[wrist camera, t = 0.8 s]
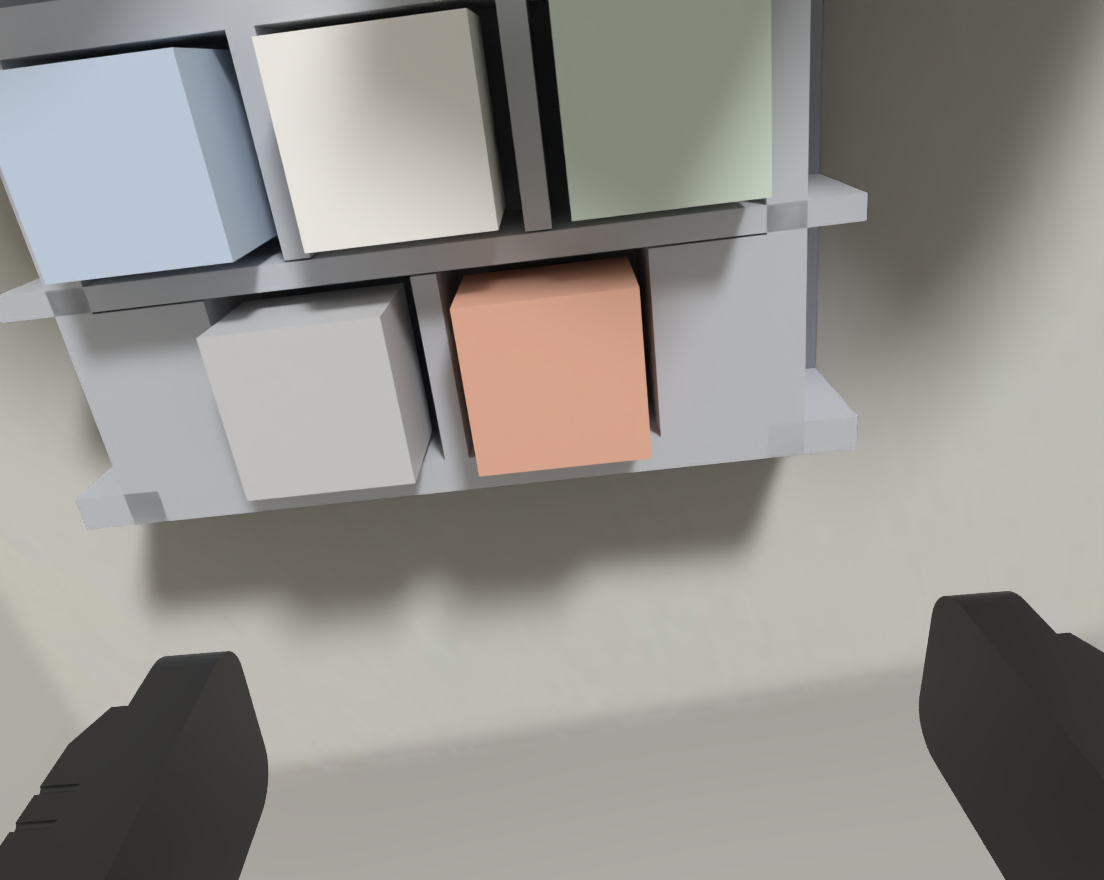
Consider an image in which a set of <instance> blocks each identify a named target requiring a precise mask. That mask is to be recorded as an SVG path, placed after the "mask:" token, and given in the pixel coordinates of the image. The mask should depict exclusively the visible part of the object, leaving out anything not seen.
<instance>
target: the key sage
mask: <svg viewBox="0 0 1104 880" xmlns="http://www.w3.org/2000/svg"><path fill="white" fill-rule="evenodd" d="M548 1H549V14H550V24H551V33H552V43H553V52H554V62H555V71H556V81H557V90H558V100H559V109H560V119H561V128H562V137H563V147H564V156H565V166H566V175H567V185H568V194H569V203H570V210H571V218H572V221H579V220H587V219H596V218H604V217H612V216H621V215H629V214H637V213H646V212H654V211H662V210H670V209H679V208H687V207H695V206H704V205H712V204H720V203H729V202H737V201H745V200H753V199H762V198H770V197H772V65H771V0H548Z"/></svg>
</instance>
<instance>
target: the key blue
mask: <svg viewBox="0 0 1104 880" xmlns="http://www.w3.org/2000/svg"><path fill="white" fill-rule="evenodd" d="M0 167H1V170H2V172H3V175H4V178H5V180H6V183H7V185H8V188H9V191H10V193H11V196H12V198H13V201H14V204H15V206H16V209H17V211H18V214H19V216H20V219H21V222H22V224H23V227H24V229H25V232H26V235H27V237H28V240H29V242H30V245H31V248H32V250H33V253H34V255H35V258H36V261H37V263H38V266H39V268H40V271H41V273H42V276H43V279H44V281H45V284H46V285H48V284H56V283H65V282H73V281H81V280H89V279H98V278H106V277H114V276H123V275H131V274H139V273H148V272H156V271H164V270H172V269H181V268H189V267H197V266H206V265H214V264H222V263H231V262H234V261H236V260H238V259H239V258H241V257H242V256H244V255H246V254H247V253H249V252H250V251H252V250H254V249H255V248H257V247H258V246H260V245H262V244H263V243H265V242H267V241H268V240H270V239H271V238H273V237H275V236H276V235H278V234H277V230H276V226H275V222H274V218H273V214H272V211H271V207H270V203H269V199H268V195H267V191H266V187H265V183H264V179H263V176H262V172H261V168H260V164H259V160H258V156H257V152H256V148H255V144H254V141H253V137H252V133H251V129H250V125H249V121H248V117H247V113H246V109H245V106H244V102H243V98H242V94H241V90H240V86H239V82H238V78H237V74H236V71H235V67H234V63H233V59H232V55H231V51H230V50H220V49H198V48H176V47H171V48H163V49H156V50H149V51H141V52H134V53H126V54H119V55H111V56H104V57H96V58H89V59H81V60H74V61H67V62H59V63H52V64H44V65H37V66H29V67H22V68H14V69H7V70H0Z"/></svg>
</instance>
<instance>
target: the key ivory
mask: <svg viewBox="0 0 1104 880" xmlns="http://www.w3.org/2000/svg"><path fill="white" fill-rule="evenodd" d="M252 41H253V45H254V49H255V53H256V57H257V61H258V65H259V70H260V74H261V78H262V82H263V86H264V90H265V94H266V98H267V102H268V106H269V110H270V114H271V118H272V122H273V127H274V131H275V135H276V139H277V143H278V147H279V151H280V155H281V159H282V163H283V167H284V171H285V175H286V179H287V183H288V188H289V192H290V196H291V200H292V204H293V208H294V212H295V216H296V220H297V224H298V228H299V232H300V236H301V240H302V245H303V249H304V253H314V252H322V251H330V250H338V249H347V248H355V247H363V246H372V245H380V244H388V243H397V242H405V241H413V240H421V239H430V238H438V237H446V236H455V235H463V234H471V233H480V232H488V231H496V230H498V229H499V226H500V223H501V220H502V217H503V214H504V211H505V207H506V205H505V197H504V190H503V183H502V176H501V168H500V161H499V154H498V147H497V140H496V132H495V125H494V118H493V111H492V103H491V96H490V89H489V82H488V74H487V67H486V60H485V53H484V45H483V38H482V31H481V24H480V17H479V16H478V15H476V14H475V13H473V12H472V11H470V10H469V9H467V8H462V9H454V10H447V11H439V12H432V13H424V14H417V15H409V16H402V17H395V18H387V19H380V20H372V21H365V22H357V23H350V24H342V25H335V26H327V27H320V28H313V29H305V30H298V31H290V32H283V33H275V34H268V35H260V36H253V37H252Z"/></svg>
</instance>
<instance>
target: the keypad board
mask: <svg viewBox="0 0 1104 880" xmlns="http://www.w3.org/2000/svg"><path fill="white" fill-rule="evenodd" d="M462 8H467V9H469V10H470V11H472V12H473V13H475V14H476V15H478V16H479V17H480V24H481V31H482V38H483V45H484V53H485V60H486V67H487V74H488V82H489V89H490V96H491V103H492V111H493V118H494V125H495V132H496V140H497V147H498V154H499V161H500V168H501V176H502V183H503V190H504V197H505V205H506V207H505V211H504V214H503V217H502V220H501V223H500V226H499V229H498V230H496V231H488V232H480V233H471V234H463V235H455V236H446V237H438V238H430V239H421V240H413V241H405V242H397V243H388V244H380V245H372V246H363V247H355V248H347V249H338V250H330V251H322V252H314V253H304V249H303V245H302V240H301V236H300V232H299V228H298V224H297V220H296V216H295V212H294V208H293V204H292V200H291V196H290V192H289V188H288V183H287V179H286V175H285V171H284V167H283V163H282V159H281V155H280V151H279V147H278V143H277V139H276V135H275V131H274V127H273V122H272V118H271V114H270V110H269V106H268V102H267V98H266V94H265V90H264V86H263V82H262V78H261V74H260V70H259V65H258V61H257V57H256V53H255V49H254V45H253V41H252V37H253V36H260V35H268V34H275V33H283V32H290V31H298V30H305V29H313V28H320V27H327V26H335V25H342V24H350V23H357V22H365V21H372V20H380V19H387V18H395V17H402V16H409V15H417V14H424V13H432V12H439V11H447V10H454V9H462ZM822 28H823V0H771V65H772V197H770V198H762V199H753V200H745V201H737V202H729V203H720V204H712V205H704V206H695V207H687V208H679V209H670V210H662V211H654V212H646V213H637V214H629V215H621V216H612V217H604V218H596V219H587V220H579V221H572V218H571V210H570V203H569V194H568V185H567V175H566V166H565V156H564V147H563V137H562V128H561V119H560V109H559V100H558V90H557V81H556V71H555V62H554V52H553V43H552V33H551V24H550V14H549V1H548V0H0V70H7V69H14V68H22V67H29V66H37V65H44V64H52V63H59V62H67V61H74V60H81V59H89V58H96V57H104V56H111V55H119V54H126V53H134V52H141V51H149V50H156V49H163V48H171V47H176V48H198V49H220V50H230V51H231V55H232V59H233V63H234V67H235V71H236V74H237V78H238V82H239V86H240V90H241V94H242V98H243V102H244V106H245V109H246V113H247V117H248V121H249V125H250V129H251V133H252V137H253V141H254V144H255V148H256V152H257V156H258V160H259V164H260V168H261V172H262V176H263V179H264V183H265V187H266V191H267V195H268V199H269V203H270V207H271V211H272V214H273V218H274V222H275V226H276V230H277V234H278V235H276V236H275V237H273V238H271V239H270V240H268V241H267V242H265V243H263V244H262V245H260V246H258V247H257V248H255V249H254V250H252V251H250V252H249V253H247V254H246V255H244V256H242V257H241V258H239V259H238V260H236V261H234V262H231V263H222V264H214V265H206V266H197V267H189V268H181V269H172V270H164V271H156V272H148V273H139V274H131V275H123V276H114V277H106V278H98V279H89V280H81V281H73V282H65V283H56V284H48V285H46V284H45V281H44V279H43V276H42V273H41V271H40V268H39V266H38V263H37V261H36V258H35V255H34V253H33V250H32V248H31V245H30V242H29V240H28V237H27V235H26V232H25V229H24V227H23V224H22V222H21V219H20V216H19V214H18V211H17V209H16V206H15V204H14V201H13V198H12V196H11V193H10V191H9V188H8V185H7V183H6V180H5V178H4V175H3V172H2V170H1V167H0V177H1V180H2V183H3V185H4V188H5V190H6V193H7V195H8V198H9V201H10V203H11V206H12V208H13V211H14V213H15V216H16V219H17V221H18V224H19V226H20V229H21V231H22V234H23V237H24V239H25V242H26V244H27V247H28V250H29V252H30V255H31V257H32V260H33V262H34V265H35V268H36V270H37V273H38V275H39V278H38V279H36V280H33V281H31V282H28V283H26V284H24V285H21V286H19V287H16V288H14V289H12V290H9V291H7V292H4V293H2V294H0V322H1V323H8V322H16V321H24V320H33V319H41V318H50V317H55V319H56V322H57V324H58V327H59V329H60V332H61V335H62V337H63V340H64V342H65V345H66V347H67V350H68V353H69V355H70V358H71V360H72V363H73V365H74V368H75V371H76V373H77V376H78V378H79V381H80V384H81V386H82V389H83V391H84V394H85V396H86V399H87V402H88V404H89V407H90V409H91V412H92V414H93V417H94V420H95V422H96V425H97V427H98V430H99V432H100V435H101V438H102V440H103V443H104V445H105V448H106V451H107V453H108V456H109V458H110V461H111V463H112V467H110V468H109V469H108V470H107V471H106V472H105V473H104V474H103V475H102V476H101V477H100V478H98V479H97V480H96V481H95V482H94V483H93V484H92V485H91V486H90V487H89V488H87V489H86V490H85V491H84V492H83V493H82V494H81V495H80V496H79V497H78V498H77V499H75V501H76V504H77V506H78V508H79V511H80V513H81V516H82V518H83V520H84V523H85V525H86V527H87V530H89V529H99V528H108V527H118V526H127V525H137V524H146V523H156V522H165V521H175V520H184V519H194V518H203V517H213V516H222V515H232V514H242V513H251V512H261V511H270V510H280V509H289V508H299V507H308V506H318V505H327V504H337V503H346V502H356V501H365V500H375V499H384V498H394V497H403V496H413V495H422V494H432V493H441V492H451V491H460V490H470V489H480V488H489V487H499V486H508V485H518V484H527V483H537V482H546V481H556V480H565V479H575V478H584V477H594V476H603V475H613V474H622V473H632V472H641V471H651V470H660V469H670V468H679V467H689V466H698V465H708V464H718V463H727V462H737V461H746V460H756V459H765V458H775V457H784V456H794V455H803V454H813V453H822V452H832V451H841V450H851V449H856V443H857V421H858V416H857V415H856V414H855V413H854V411H853V410H852V409H851V408H850V407H849V406H848V404H847V403H846V402H845V401H844V400H843V399H842V398H841V396H840V395H839V394H838V393H837V392H836V391H835V390H834V388H833V387H832V386H831V385H830V384H829V383H828V382H827V380H826V379H825V378H824V377H823V376H822V375H821V374H820V372H819V371H818V370H817V369H816V323H817V274H818V226H827V225H835V224H843V223H852V222H860V221H866V220H867V198H868V193H867V192H864V191H862V190H859V189H857V188H854V187H852V186H849V185H847V184H844V183H842V182H839V181H837V180H834V179H832V178H830V177H827V176H825V175H822V174H820V126H821V77H822ZM625 256H627V257H628V260H629V262H630V265H631V267H632V270H633V272H634V275H635V277H636V280H637V282H638V285H639V289H640V303H641V316H642V330H643V343H644V357H645V371H646V384H647V398H648V412H649V425H650V439H651V452H652V458H650V459H641V460H631V461H622V462H612V463H603V464H593V465H584V466H575V467H565V468H556V469H546V470H537V471H527V472H518V473H508V474H499V475H489V476H480V477H479V472H478V467H477V461H476V455H475V450H474V444H473V438H472V433H471V427H470V421H469V415H468V410H467V404H466V398H465V393H464V387H463V381H462V376H461V370H460V364H459V358H458V353H457V347H456V341H455V336H454V330H453V324H452V319H451V313H450V308H451V305H452V303H453V300H454V298H455V295H456V293H457V291H458V288H459V286H460V283H461V281H462V279H463V276H464V275H472V274H481V273H489V272H498V271H506V270H515V269H523V268H532V267H540V266H549V265H557V264H565V263H574V262H582V261H591V260H599V259H608V258H616V257H625ZM396 283H404V288H405V294H406V299H407V304H408V309H409V314H410V319H411V324H412V329H413V334H414V339H415V344H416V349H417V354H418V359H419V364H420V369H421V375H422V380H423V385H424V390H425V395H426V400H427V405H428V410H429V415H430V420H431V425H432V434H431V437H430V440H429V443H428V446H427V449H426V452H425V455H424V458H423V461H422V464H421V468H420V471H419V474H418V477H417V480H416V483H414V484H404V485H395V486H385V487H376V488H367V489H357V490H348V491H338V492H329V493H319V494H310V495H300V496H291V497H281V498H272V499H263V500H253V501H247V498H246V495H245V492H244V488H243V485H242V482H241V479H240V476H239V473H238V469H237V466H236V463H235V460H234V457H233V454H232V450H231V447H230V444H229V441H228V438H227V435H226V431H225V428H224V425H223V422H222V419H221V416H220V413H219V409H218V406H217V403H216V400H215V397H214V394H213V390H212V387H211V384H210V381H209V378H208V375H207V371H206V368H205V365H204V362H203V359H202V356H201V352H200V349H199V346H198V343H197V340H196V338H198V337H199V336H200V335H201V334H203V333H204V332H205V331H207V330H208V329H209V328H211V327H212V326H213V325H214V324H216V323H217V322H218V321H220V320H221V319H222V318H223V317H225V316H226V315H227V314H229V313H230V312H231V311H233V310H234V309H235V308H236V307H238V306H239V305H240V304H242V303H243V302H244V301H252V300H260V299H269V298H277V297H286V296H294V295H303V294H311V293H320V292H328V291H337V290H345V289H354V288H362V287H371V286H379V285H387V284H396Z"/></svg>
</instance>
